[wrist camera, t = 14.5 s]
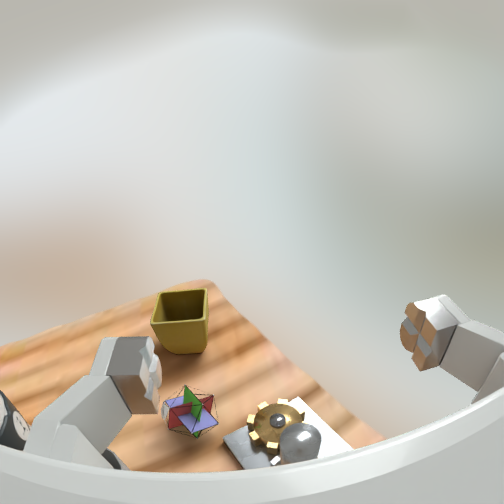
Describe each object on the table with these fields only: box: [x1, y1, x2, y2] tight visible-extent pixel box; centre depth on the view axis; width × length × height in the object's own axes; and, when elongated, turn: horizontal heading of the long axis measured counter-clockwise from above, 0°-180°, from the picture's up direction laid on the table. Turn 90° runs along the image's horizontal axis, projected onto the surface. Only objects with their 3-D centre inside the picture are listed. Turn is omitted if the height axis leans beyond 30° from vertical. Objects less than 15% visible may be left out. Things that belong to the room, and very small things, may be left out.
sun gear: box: [247, 399, 309, 455], centre depth 34 cm, size 8×8×4 cm
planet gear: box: [270, 423, 322, 467], centre depth 25 cm, size 7×7×11 cm
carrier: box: [223, 397, 354, 470], centre depth 30 cm, size 12×17×4 cm
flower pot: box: [150, 288, 209, 354], centre depth 51 cm, size 9×9×9 cm
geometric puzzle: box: [161, 385, 219, 439], centre depth 36 cm, size 7×7×8 cm
